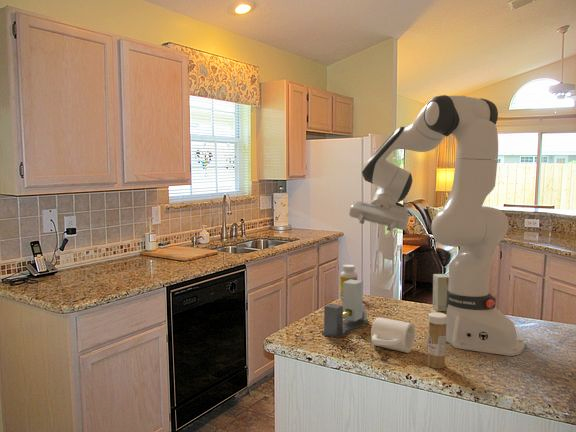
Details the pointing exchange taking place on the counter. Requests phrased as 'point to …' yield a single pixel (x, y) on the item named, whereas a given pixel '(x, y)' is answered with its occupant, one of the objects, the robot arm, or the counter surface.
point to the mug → (393, 334)
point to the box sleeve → (353, 299)
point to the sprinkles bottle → (437, 340)
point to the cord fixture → (340, 321)
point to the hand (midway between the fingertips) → (375, 225)
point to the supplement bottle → (347, 276)
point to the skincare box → (440, 291)
